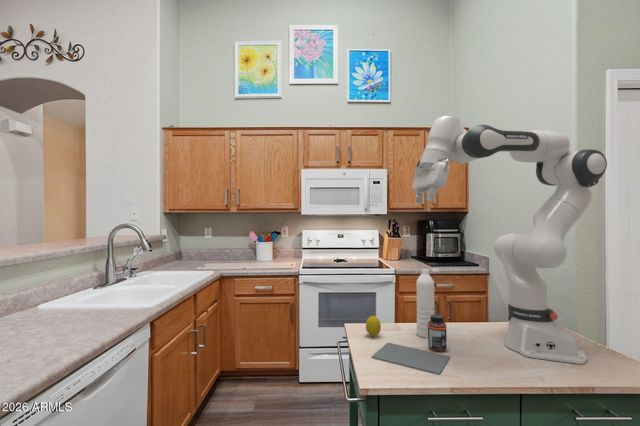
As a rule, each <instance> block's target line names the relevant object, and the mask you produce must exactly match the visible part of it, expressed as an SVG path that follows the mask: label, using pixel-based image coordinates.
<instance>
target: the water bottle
mask: <svg viewBox="0 0 640 426" xmlns="http://www.w3.org/2000/svg"><path fill="white" fill-rule="evenodd" d="M431 269H432V273H440V269H439V268H431ZM432 314H435V281H434V279H433V278H432V277H431V275H430V271H429V269H427V268H426V269H421V274H420V275H419V277H418V278H417V279H416V335H417V336H418V337H420V338H424V339H425V338H426V339H428V322H429V321H430V320H431V315H432Z"/></svg>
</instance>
